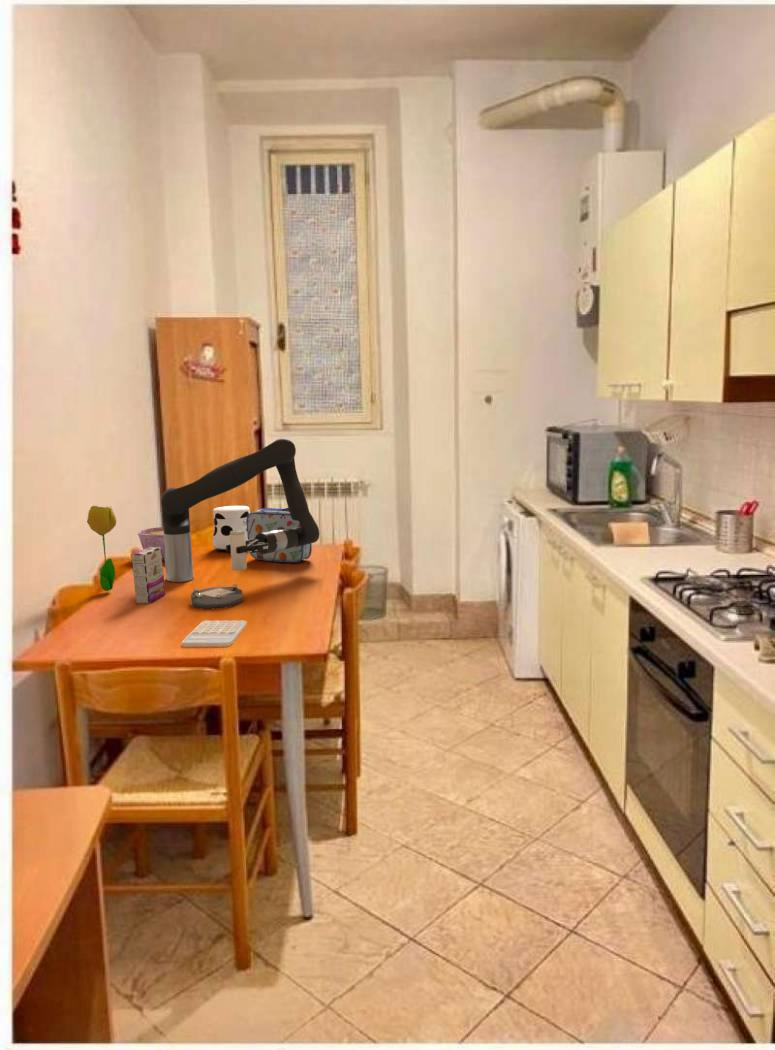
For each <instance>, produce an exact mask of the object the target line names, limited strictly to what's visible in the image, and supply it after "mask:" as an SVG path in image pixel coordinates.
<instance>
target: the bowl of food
mask: <svg viewBox="0 0 775 1050" xmlns="http://www.w3.org/2000/svg"><path fill="white" fill-rule="evenodd" d="M137 535H138V538H139V541H140V544H141V547H142V550H143V549H146V548H148V547H161V552H162V559H165V556H164V554H165V541H164V529H163V526H160V527H152V528H151V527H150V528H145V529H141V530H139V531H138V532H137Z"/></svg>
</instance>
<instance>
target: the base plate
mask: <svg viewBox="0 0 775 1050" xmlns="http://www.w3.org/2000/svg"><path fill="white" fill-rule="evenodd" d="M192 590H193V591H192V593H190V601H191V602H190V603H191V606H192V607H193V608H195V607H196V609H200V608H203V610H217V609H216V608H220V609H226V608H225V607H227V608H231V607H230V606H232V607H235V606H238V605H240V604H241V603H243V590H242V589H241V588H238V585H237V584H232V587H231V586H216V587H215V586H213V587H207V588H203V589H202V588H201V589H199V588H196V587H194V588H193V589H192ZM239 603H240V604H239ZM237 604H238V605H237ZM234 605H235V606H234ZM212 608H213V609H212ZM214 608H215V609H214Z"/></svg>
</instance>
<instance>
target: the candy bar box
mask: <svg viewBox="0 0 775 1050" xmlns="http://www.w3.org/2000/svg"><path fill="white" fill-rule="evenodd" d="M130 556H131V564H132V573H133V574H132V575H133V583H134V593H135V594H134V595H135V603H136V604H138V603H139V605H141V603H142V604H145V605H146V604H147V605H149V604H152V603H153V602H156V601H157V600H159V599H160V597H161V598H162V597H164V596H165V595H166V587H165V578H164V576H165V575H164V574H165V573H164V566H163V560H162V552H161V547H148V548H146V549H143V548H142V549H141V550H139V551H137V552H134V553H132V554H131V555H130Z"/></svg>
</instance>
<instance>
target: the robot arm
mask: <svg viewBox="0 0 775 1050" xmlns="http://www.w3.org/2000/svg"><path fill="white" fill-rule="evenodd" d="M296 453H297V449H296V446H295V444H294V442H293V441H291V440H290V439H287V438H278V439H275V440H274V441H272V443H269V444H268V445H266V446H264V447H263V448H261V449H259V450H257V451H255V452H253V453H249V454H247V455H244V456H241V457H239V458H236V459H234V460H231V461H229V462H226V463H224V464H221V465H220V466H218V467H216V468H214V469H212V470H211V471H209V472H207V473H206V474H204V475H202V476H201V477H200V478H199V479H197V480H194V481H192V482H191V483H188V484H186V485H184V486H180V487H177V486H173V487H169V488H167V489H166V490H165V491H164V492H163V493H162V495H161V498H160V503H161V510H162V527H163V529H164V541H165V554H164V556H165V560H164V565H165V566H164V568H165V569H164V570H165V579H166V580H167V581H168V582H170V581H171V583H181V582H182V583H183V582H189V581H191V580H193V579H194V565H193V549H192V548H193V547H192V535H191V518H190V508H192V507H195V506H196V505H198V504H199V503H201V502H203V501H205V500H208V499H210V498H211V499H212V498H214V497H216V496H219V495H222V494H225V493H226V492H230V491H232V490H233V489H235V488H238V487H240V486H241V485H244V484H246V483H247V482H249V481H251V480H252V479H254V478H255V477H256V476H258V475H259V474H261V473H263V472H265V471H267V470H269V469H272V468H274V467H276V471H277V472H278V475H279V477H280V480H281V484H282V488H283V492H284V496H285V500H286V504H287V508H289V512H290V515H291V518H292V519H293V520H296V521H299V523H300V524H301V526H300V527H296V528H292V529H283V530H273V531H268V532H262V533H258V534H257V535H256V537H255V539H249V540H245V542H246V546H240V547H237V548H236V553H238V554H240V553H245V552H246V553H248V554H250V552H252V553H256V552H259V553H260V554H267V553H272V552H277V551H280V550H283V549H288V548H292V547H296V546H302V545H307V544H311V543H312V544H314V543H317V542H318V540H319V539H320V529H319V526H318V524H317V522H316V521H315V520H316V519H314V517H313V516H312V514H311V512H310V509H309V507H308V502H307V499H306V495H305V492H304V490H303V487H302V485H301V481H300V480H299V477H298V472H297V469H296V461H295V456H296ZM225 552H227V553H228V552H231V545H226V551H225Z"/></svg>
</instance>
